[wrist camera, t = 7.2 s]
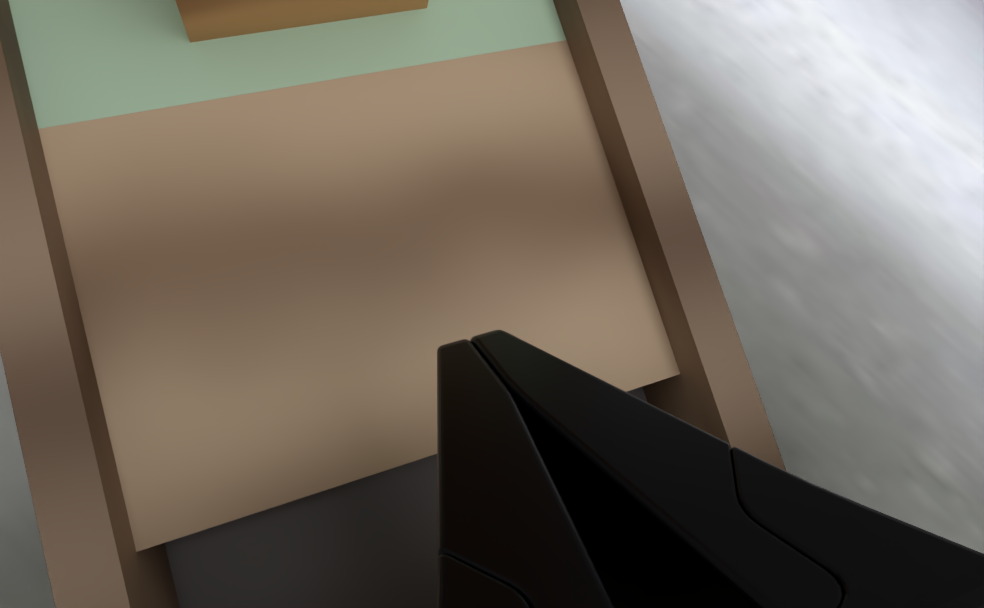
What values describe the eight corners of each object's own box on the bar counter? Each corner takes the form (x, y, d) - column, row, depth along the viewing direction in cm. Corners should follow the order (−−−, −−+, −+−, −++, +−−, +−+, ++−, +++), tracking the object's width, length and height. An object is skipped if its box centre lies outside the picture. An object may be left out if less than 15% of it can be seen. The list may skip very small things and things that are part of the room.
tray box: (746, 609, 17) (889, 665, 13) (187, 858, 13) (119, 1055, 9) (404, -403, 21) (423, -627, 16) (-104, -414, 17) (-250, -702, 13)
